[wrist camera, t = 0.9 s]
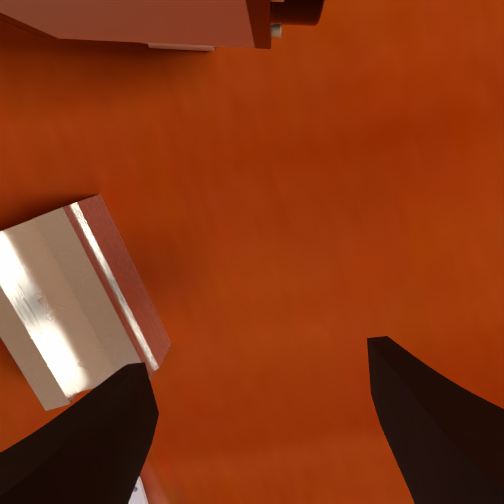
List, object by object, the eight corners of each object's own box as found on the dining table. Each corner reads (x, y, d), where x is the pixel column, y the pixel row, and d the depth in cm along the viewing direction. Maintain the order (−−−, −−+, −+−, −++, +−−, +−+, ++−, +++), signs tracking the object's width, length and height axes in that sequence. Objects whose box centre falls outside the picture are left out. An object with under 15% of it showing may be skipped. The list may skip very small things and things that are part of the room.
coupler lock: (172, 340, 24) (153, 379, 20) (77, 369, 25) (42, 411, 21) (102, 193, 22) (66, 205, 18) (-1, 232, 23) (-56, 252, 19)
